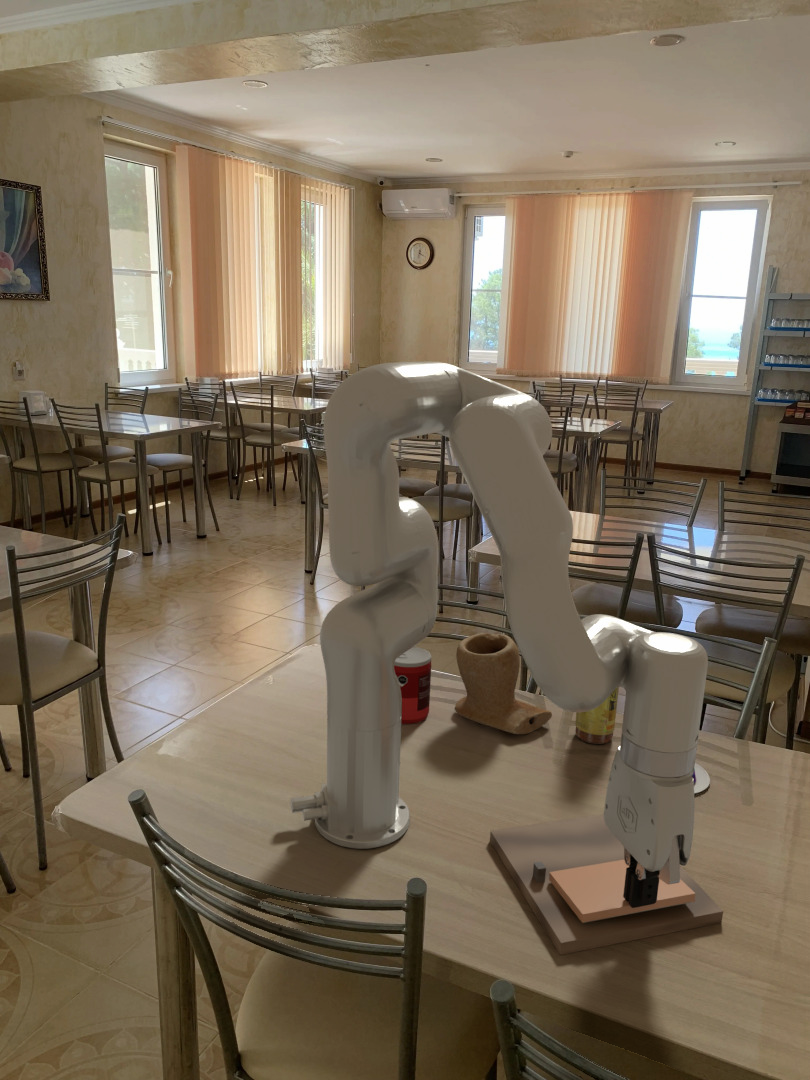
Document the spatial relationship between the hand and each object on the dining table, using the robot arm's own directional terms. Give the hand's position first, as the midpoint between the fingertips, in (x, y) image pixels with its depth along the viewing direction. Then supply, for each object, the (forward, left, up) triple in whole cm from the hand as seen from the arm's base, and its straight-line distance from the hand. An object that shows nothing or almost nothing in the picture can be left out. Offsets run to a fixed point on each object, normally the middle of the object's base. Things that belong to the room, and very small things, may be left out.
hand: (639, 900), depth 88 cm
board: (0, +8, -4) cm, 9 cm away
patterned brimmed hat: (+22, +27, -4) cm, 35 cm away
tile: (0, +4, 0) cm, 4 cm away
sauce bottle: (+17, +40, -4) cm, 44 cm away
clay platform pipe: (+3, +48, -4) cm, 49 cm away
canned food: (-11, +54, -4) cm, 56 cm away
